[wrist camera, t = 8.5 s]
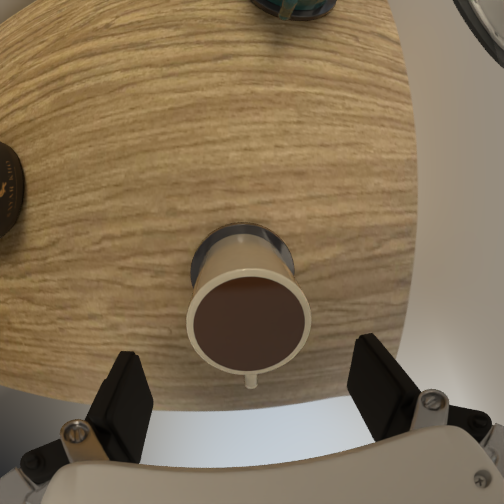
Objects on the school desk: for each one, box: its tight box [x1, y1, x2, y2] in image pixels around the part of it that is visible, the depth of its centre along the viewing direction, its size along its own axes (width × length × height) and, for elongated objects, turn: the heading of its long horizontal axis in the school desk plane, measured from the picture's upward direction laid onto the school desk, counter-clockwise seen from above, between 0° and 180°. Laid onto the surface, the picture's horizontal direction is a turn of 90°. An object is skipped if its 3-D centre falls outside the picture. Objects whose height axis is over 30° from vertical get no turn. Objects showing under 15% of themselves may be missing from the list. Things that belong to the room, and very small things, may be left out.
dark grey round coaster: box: [191, 222, 294, 289], centre depth 22 cm, size 8×8×1 cm
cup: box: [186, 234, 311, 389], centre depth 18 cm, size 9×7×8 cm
